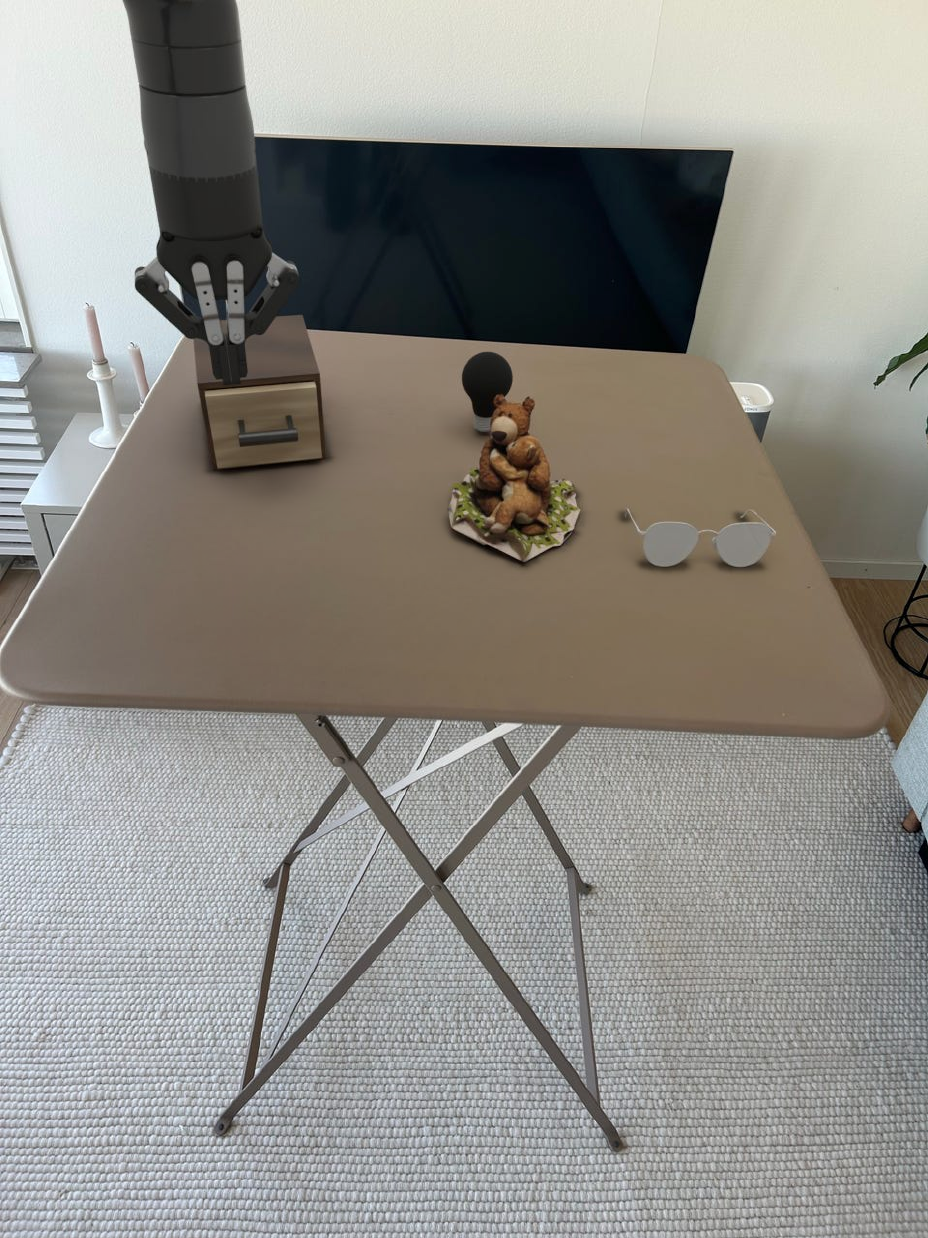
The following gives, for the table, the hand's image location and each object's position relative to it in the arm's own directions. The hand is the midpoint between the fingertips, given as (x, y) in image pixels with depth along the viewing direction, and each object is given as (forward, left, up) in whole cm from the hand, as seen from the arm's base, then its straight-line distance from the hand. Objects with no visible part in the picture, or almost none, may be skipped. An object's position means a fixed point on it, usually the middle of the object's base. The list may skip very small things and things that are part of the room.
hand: (231, 380), depth 74 cm
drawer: (+8, +18, -18) cm, 27 cm away
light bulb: (+32, +10, -19) cm, 39 cm away
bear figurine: (+26, -6, -19) cm, 33 cm away
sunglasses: (+41, -18, -19) cm, 49 cm away
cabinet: (+9, +22, -19) cm, 30 cm away
